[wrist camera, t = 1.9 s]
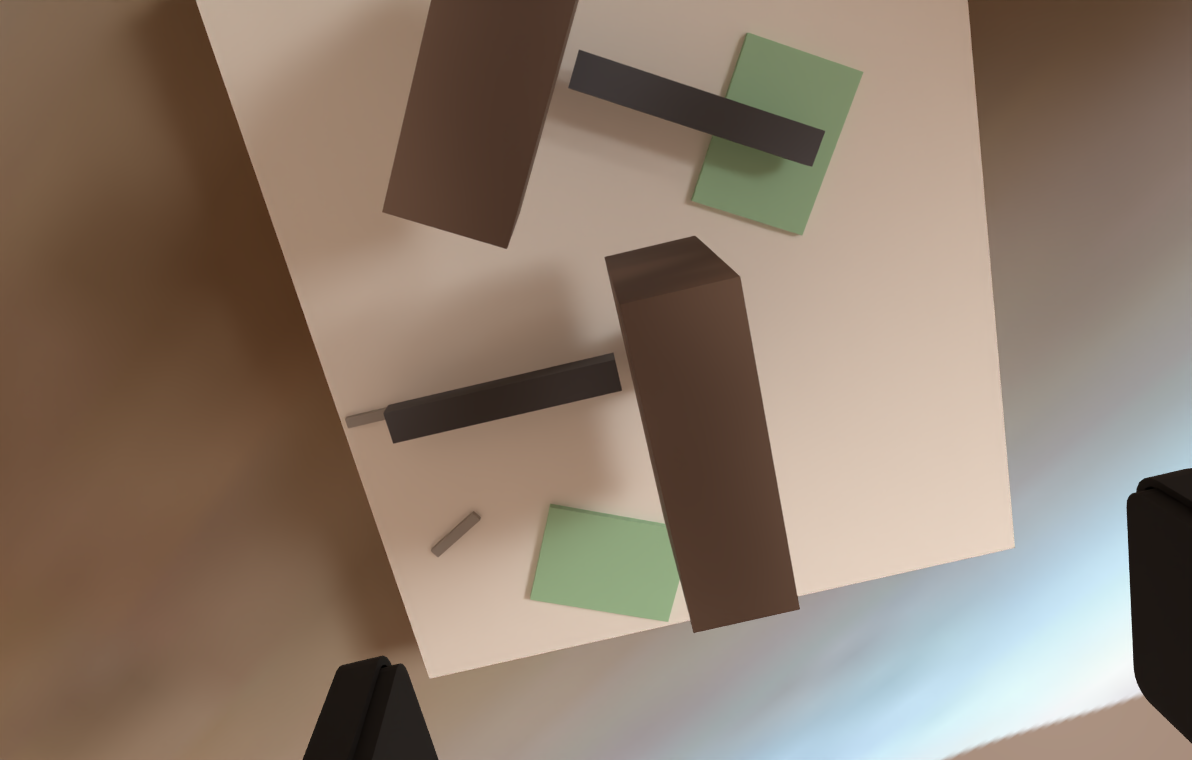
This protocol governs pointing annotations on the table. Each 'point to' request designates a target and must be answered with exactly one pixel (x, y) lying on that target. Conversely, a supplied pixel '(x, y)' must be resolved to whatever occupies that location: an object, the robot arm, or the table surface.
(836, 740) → the table surface
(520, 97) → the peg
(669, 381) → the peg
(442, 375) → the board
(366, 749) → the robot arm
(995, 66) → the table surface
